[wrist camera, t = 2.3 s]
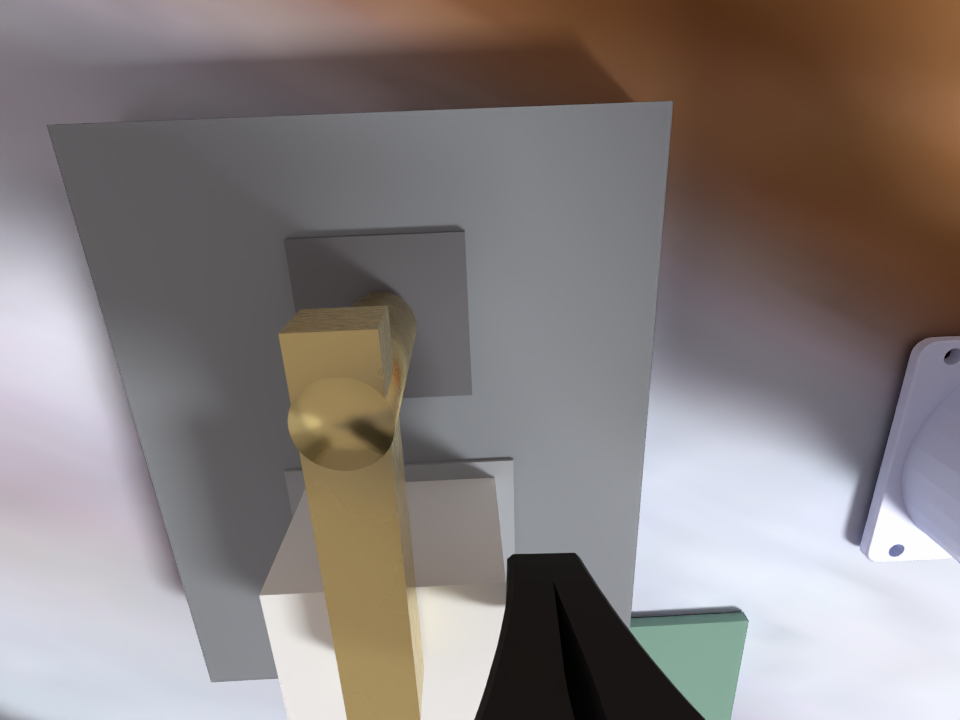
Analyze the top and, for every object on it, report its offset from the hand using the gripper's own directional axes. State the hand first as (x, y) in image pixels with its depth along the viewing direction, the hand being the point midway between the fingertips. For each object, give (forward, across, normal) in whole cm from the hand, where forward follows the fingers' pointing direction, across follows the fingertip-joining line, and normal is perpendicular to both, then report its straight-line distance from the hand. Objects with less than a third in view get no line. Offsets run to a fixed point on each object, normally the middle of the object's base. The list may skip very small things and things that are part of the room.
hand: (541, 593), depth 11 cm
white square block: (+4, +3, +3) cm, 6 cm away
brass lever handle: (+4, +3, -2) cm, 5 cm away
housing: (+7, +3, -1) cm, 8 cm away
